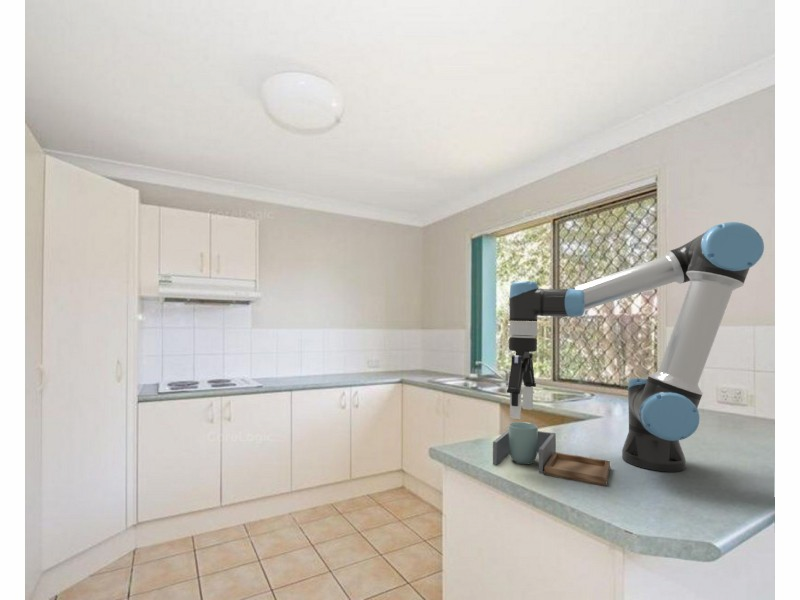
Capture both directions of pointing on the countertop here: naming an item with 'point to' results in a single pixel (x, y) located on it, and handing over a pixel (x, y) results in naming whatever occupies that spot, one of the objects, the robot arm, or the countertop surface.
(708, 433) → the countertop surface
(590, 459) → the tray
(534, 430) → the cup
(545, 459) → the bay
